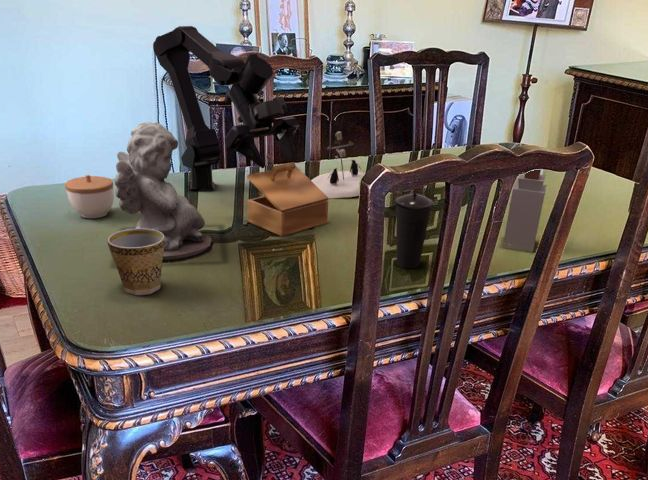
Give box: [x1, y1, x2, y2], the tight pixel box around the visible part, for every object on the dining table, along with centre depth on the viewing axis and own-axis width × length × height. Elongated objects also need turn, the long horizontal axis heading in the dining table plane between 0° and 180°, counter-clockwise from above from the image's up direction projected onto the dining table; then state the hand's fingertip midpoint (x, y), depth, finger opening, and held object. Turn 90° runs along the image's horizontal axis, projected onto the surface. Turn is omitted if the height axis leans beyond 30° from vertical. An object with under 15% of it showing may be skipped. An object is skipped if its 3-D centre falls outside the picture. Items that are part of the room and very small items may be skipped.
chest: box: [246, 195, 329, 237], centre depth 153 cm, size 13×15×5 cm
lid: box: [246, 161, 330, 213], centre depth 149 cm, size 13×15×5 cm
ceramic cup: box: [106, 227, 164, 296], centre depth 119 cm, size 13×10×10 cm
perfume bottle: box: [502, 169, 548, 253], centre depth 142 cm, size 7×7×18 cm
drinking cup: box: [394, 188, 434, 269], centre depth 130 cm, size 8×8×20 cm
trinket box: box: [64, 174, 115, 219], centre depth 152 cm, size 11×11×9 cm
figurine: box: [310, 131, 365, 199], centre depth 175 cm, size 20×18×16 cm
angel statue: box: [114, 121, 215, 263], centre depth 133 cm, size 22×22×25 cm
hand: (279, 164), depth 149 cm, fingers open, 9 cm apart
